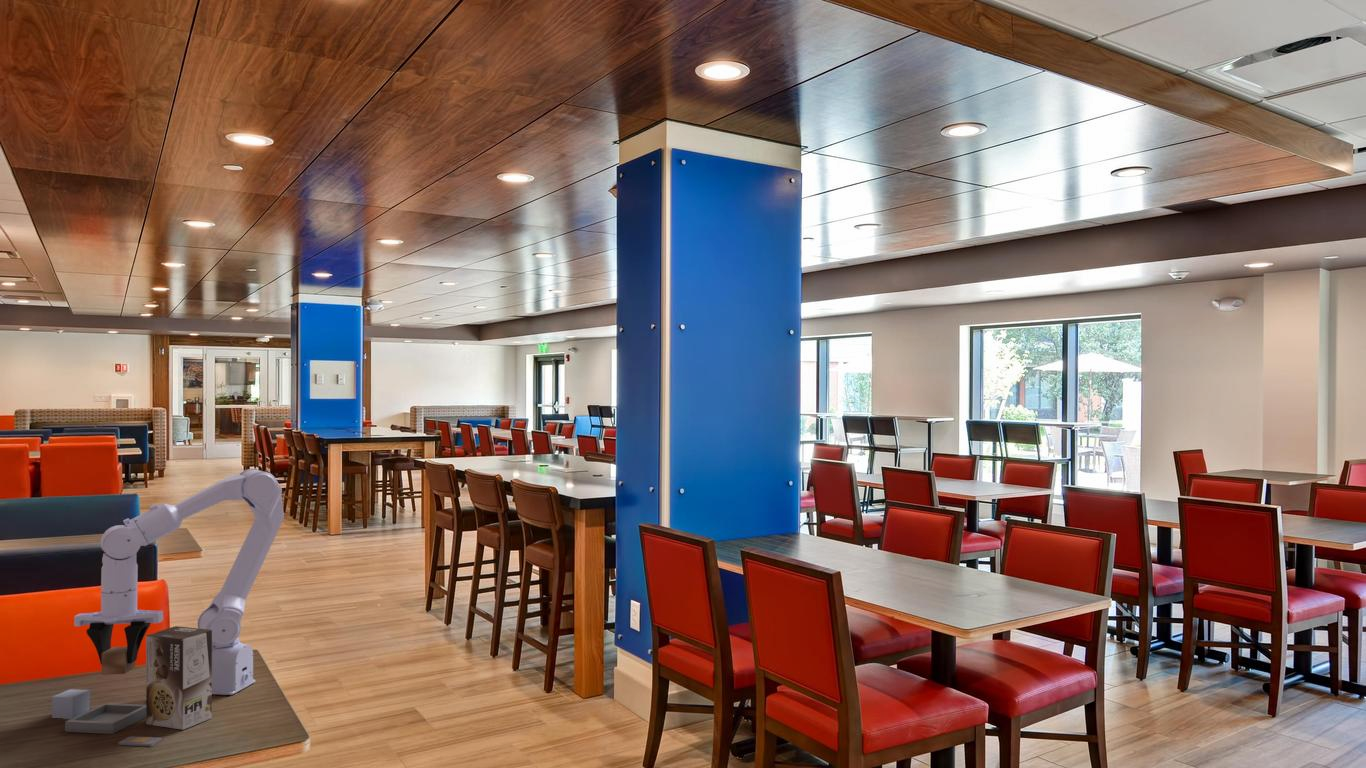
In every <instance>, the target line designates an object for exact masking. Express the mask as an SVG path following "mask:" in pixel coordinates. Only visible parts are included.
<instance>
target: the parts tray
mask: <svg viewBox="0 0 1366 768" xmlns="http://www.w3.org/2000/svg"><path fill="white" fill-rule="evenodd" d="M145 718H146V704H137V703H135V704H134V703H115V702H114V703H113V702H112V703H110V702H104V703H103V704H99V705H98V706H95V707H93V708H91V709H90V710H89V711H87V712H85V713H83V714H81V715H78V716H76V717H74V718H72V719H67V720H65V722H64V725H65V726H64V732H68V733H88V734H89V733H90V734H111V735H112V734H116V733H117V732H119V731H121V730H123V729H125V728H127V727H129V726H131V725H133V724H134V723H136V722H138V721H140V720H142V719H145Z"/></svg>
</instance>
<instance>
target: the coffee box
mask: <svg viewBox="0 0 1366 768" xmlns="http://www.w3.org/2000/svg"><path fill="white" fill-rule="evenodd" d="M145 660H146V661H145V664H146V665H145V671H146V672H145V673H146V674H145V675H146V677H145V680H146V681H145V684H146V685H145V690H146V692H145V693H146V695H145V696H146V698H145V699H146V701H145V703H146V704H145V705H146V717H145V720H146V723H145V724H146V725H149V726H155V727H163V728H168V729H175V730H183V731H184V730H186V729H189V728H191V727H193V726H197V725H198V724H201V723H203V722H206V721H208V720H211V719H212V717H213V715H212V708H213V707H212V695H213V694H212V630H208V629H199V628H198V627H188V626H177V625H176V626H172V627H167V628H165V629H163V630H157V631H156V632H154V633H150V634H147V635H146V634H145Z"/></svg>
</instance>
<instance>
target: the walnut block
mask: <svg viewBox="0 0 1366 768" xmlns="http://www.w3.org/2000/svg"><path fill="white" fill-rule="evenodd" d="M135 668H136V661H134V662H133V663H127V645H126V646H112V647H111V648H110V649H108V650H107V651H105V652H103V653H102V665H101V675H103V676H106V675H108V676H110V675H125V674H127V673H129V672H130V671H131V670H133V669H135Z"/></svg>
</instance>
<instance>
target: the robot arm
mask: <svg viewBox="0 0 1366 768" xmlns="http://www.w3.org/2000/svg"><path fill="white" fill-rule="evenodd" d="M282 492H283V489H282V486H281V485H280V484H279V482H278V480H277V479H276V477H275V476H274V475H273V474H272V473H271V472H267V471H261V470H260V469H257V468H249V469H245V470H243V471H241V472H240V473H236V474H233V475H229V476H228V477H226V478H224V479H221V480H219V481H217V482H215V483H213V484H212V485H210V486H208V487H207V488H203V489H202V490H201V491H199V492H197V493H195V494H192V496H190V497H188V498H186V499H184V500H182V501H180V502H178V503H176V504H175V505H173V504H168V503H162V504H159V505H158V504H156V503H154V504H153V505H150V506H149V509H148V511H145V512H144V513H141V514H139V515H137V516H135V517H133V518H131V519H130V518H126V519H123V521H122V522H123V524H124V525H123V524H119V525H114V526H110V527H109V528H108V529H106V530H105V531H104V533H103V534H102V536H101V538H100V540H99V546H100V548H101V550H102V551H103V552H104V553H103V554H102V558H101V563H102V567H101V569H100V570H101V572H100V573H101V578H100V580H101V581H100V584H101V585H100V611H96V612H85V613H83V612H82V613H78V614H76V615H74V622H73V625H74V627H81V626H89V628H88V629H86V635H87V636H88V638H89V639H90V640H91V642H92V643H93V645H94V647H95V650H96V652H97V655H98V659H99V663H100V665H101V666H102V653H103V652H105V651H107V650H108V649H110V648H112V647H111V646H112V645H111V644H112V636H113V630H114V625H123V624H124V625H125V624H130V625H127V626H125V627H124V628H123V629H124V634H125V638H126V639H125V640H126V646H127V663H133V662H134V661H135V662H136V661H137V658H138V654H139V650H140V649H141V648H140V647H141V645H142V642H143V640H144V638H145V636H146V633H147V631H148V630H149V628H150V626H151V624H159V623H162V622H164V610H148V609H147V610H145V609H138V569H139V565H138V563H137V553H138V552H139V550H140V548H141V546H142V547H143V546H144V547H146V546H148V545H150V544H151V543H154V542H156V541H158V540H159V539H160V540H161V538H164V537H165V536H167V535H169V534H171V533H173V532H176V531H177V530H179V529H180V527H181V525H182V522H183V520H185V519H187V518H189V517H191V516H193V515H196V514H198V513H200V512H201V511H204V510H206V509H209V508H210V507H213V506H215V505H217V504H219V503H221V502H222V503H223V501H224V502H225V501H239V502H240V501H241V502H242V501H245V502H246V503H247V504H248V506H249V509H250V510H251V512H252V514H253V516H254V520H253V523H252V525H251V527H250V529H249V531H248V534H247V535H246V537H245V539H244V542H243V543H242V546H241V547H240V550H239V552H238V554H237V556H236V558H235V559H234V563H233V565H232V566H231V569H230V570H229V573H228V574H227V577H226V579H225V581H224V583H223V585H222V587H221V589H220V591H219V592H218V593H217V594H216V595H215V596H214V597H213V599H212V602H211V603H210V605H209V606H207V608H206V609H205V610H203V611H202V613H200V615H199V616H198V619H197V628H199V629H208V630H212V695H224V696H228V695H229V696H232V695H235V694H237V693H238V692H240V691H242V690H243V689H245V688H247V687H249V686H251V685H252V684H254V683H256V679H254V650H253V647H252V646H251V645H249V644H246V643H242V642H241V641H240V637H239V636H240V634H241V630H242V624H241V622H242V618H243V615H244V614H245V605H246V600H247V597H248V596H249V593H250V592H251V589H252V587H253V585H254V583H255V581H256V578H257V577H258V575H259V573H260V571H261V568H262V566H263V563H264V561H265V559H266V557H267V555H268V553H269V552H270V551H269V550H270V549H271V546H272V544H273V542H274V540H275V538H276V537H277V535H278V532H279V529H280V528H281V525H282V523H283V521H284V518H285V514H284V513H285V512H284V506H283V499H282Z"/></svg>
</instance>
